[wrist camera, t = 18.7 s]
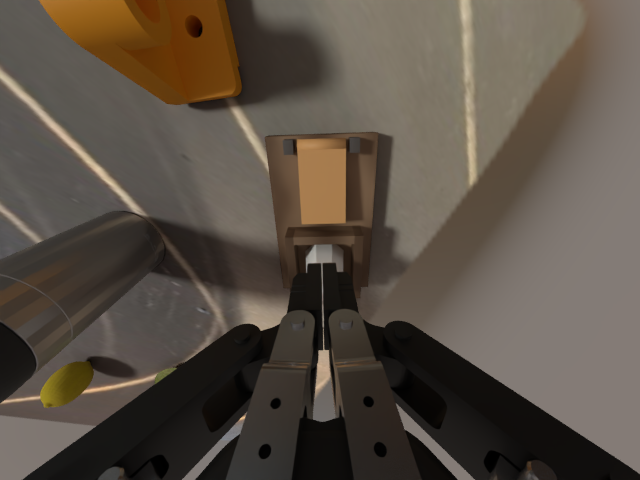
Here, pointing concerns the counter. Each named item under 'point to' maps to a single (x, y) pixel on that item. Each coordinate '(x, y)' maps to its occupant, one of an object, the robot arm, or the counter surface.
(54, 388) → the lemon
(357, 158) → the brown open tray piece
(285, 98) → the counter surface
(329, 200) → the tan flat block
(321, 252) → the salt shaker
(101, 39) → the bracket
